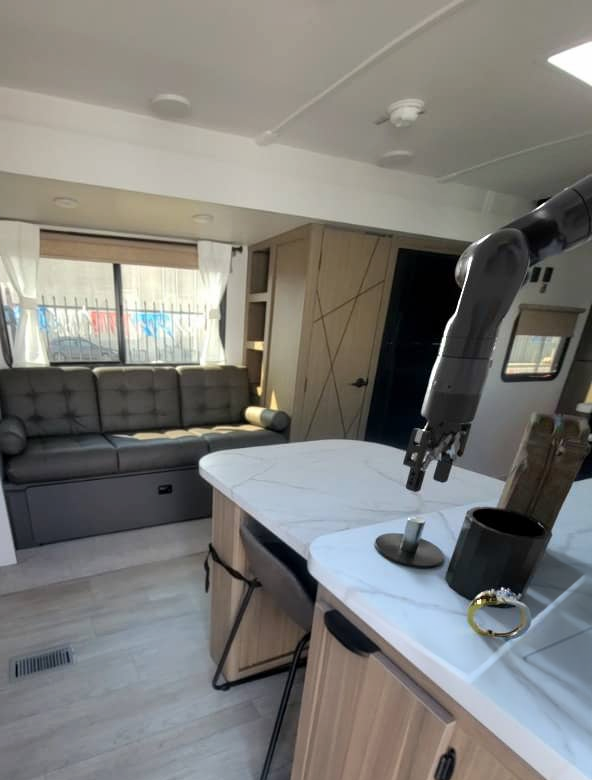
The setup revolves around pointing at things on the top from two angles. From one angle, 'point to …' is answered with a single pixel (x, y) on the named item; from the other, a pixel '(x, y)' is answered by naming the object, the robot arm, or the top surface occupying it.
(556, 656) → the top surface
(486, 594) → the ring
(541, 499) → the weathered brown block
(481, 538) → the tin
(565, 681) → the top surface
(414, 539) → the lid
